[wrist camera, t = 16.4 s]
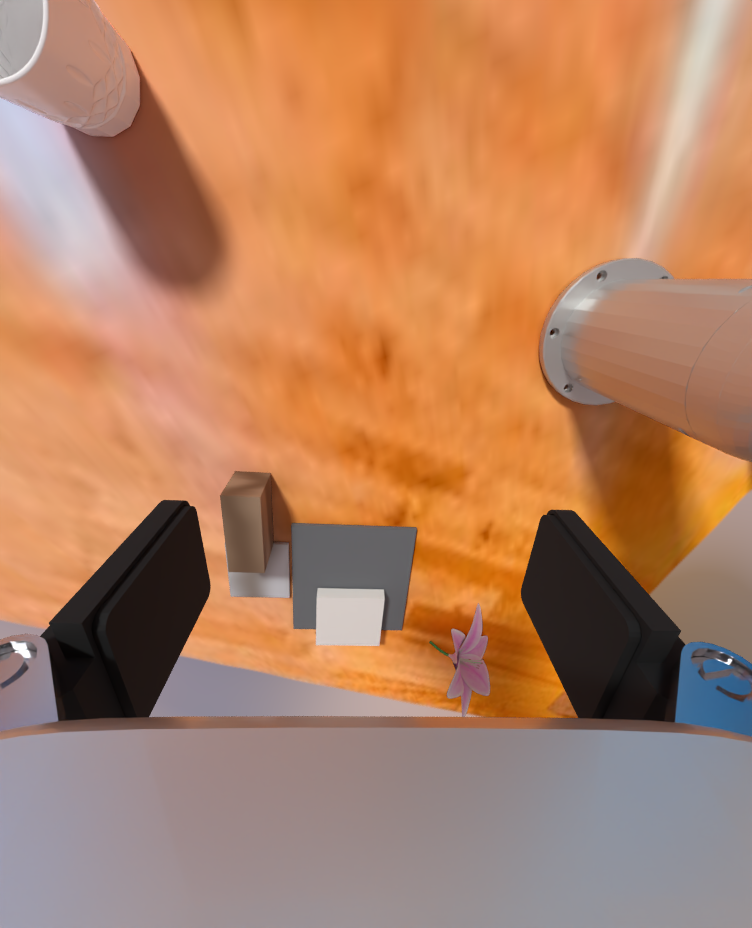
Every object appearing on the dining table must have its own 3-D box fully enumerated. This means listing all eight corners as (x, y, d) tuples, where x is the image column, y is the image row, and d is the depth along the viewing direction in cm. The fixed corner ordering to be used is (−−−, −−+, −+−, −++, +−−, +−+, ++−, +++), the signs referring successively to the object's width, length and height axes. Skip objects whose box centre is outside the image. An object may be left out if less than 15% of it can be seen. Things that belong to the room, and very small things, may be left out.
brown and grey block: (287, 473, 40) (278, 498, 35) (290, 594, 47) (283, 627, 43) (218, 470, 39) (201, 494, 35) (231, 593, 47) (218, 626, 42)
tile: (384, 598, 45) (379, 645, 49) (383, 588, 47) (378, 634, 50) (316, 597, 45) (315, 645, 48) (317, 586, 46) (317, 633, 50)
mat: (416, 527, 44) (416, 529, 43) (401, 627, 51) (401, 630, 50) (291, 523, 43) (291, 525, 42) (294, 626, 49) (293, 628, 49)
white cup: (170, 134, 28) (81, 64, 19) (67, 159, 28) (-70, 103, 19) (116, -22, 24) (-25, -200, 15) (-1, 9, 25) (-207, -148, 16)
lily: (471, 663, 56) (523, 707, 48) (402, 691, 51) (446, 746, 42) (472, 585, 54) (526, 616, 46) (400, 606, 49) (446, 645, 41)
